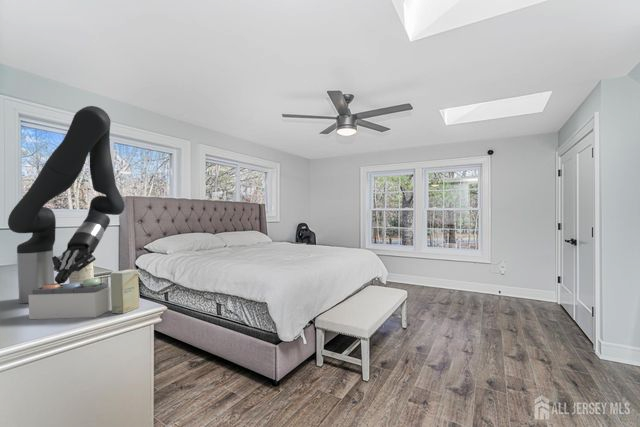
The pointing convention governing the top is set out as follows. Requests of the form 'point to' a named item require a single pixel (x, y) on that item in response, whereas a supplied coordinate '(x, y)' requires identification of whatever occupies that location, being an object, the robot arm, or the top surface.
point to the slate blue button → (71, 285)
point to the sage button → (91, 282)
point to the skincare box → (124, 291)
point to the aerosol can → (82, 274)
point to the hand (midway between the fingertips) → (59, 282)
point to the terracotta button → (50, 286)
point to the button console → (69, 302)
